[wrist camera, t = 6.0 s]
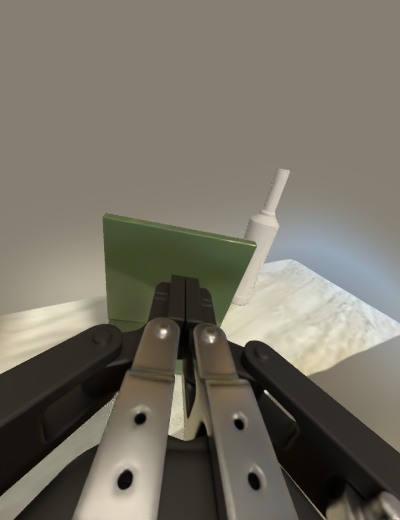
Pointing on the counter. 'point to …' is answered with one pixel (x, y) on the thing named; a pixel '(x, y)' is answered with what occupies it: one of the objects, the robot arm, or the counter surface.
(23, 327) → the counter surface
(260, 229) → the bottle
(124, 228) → the lid
